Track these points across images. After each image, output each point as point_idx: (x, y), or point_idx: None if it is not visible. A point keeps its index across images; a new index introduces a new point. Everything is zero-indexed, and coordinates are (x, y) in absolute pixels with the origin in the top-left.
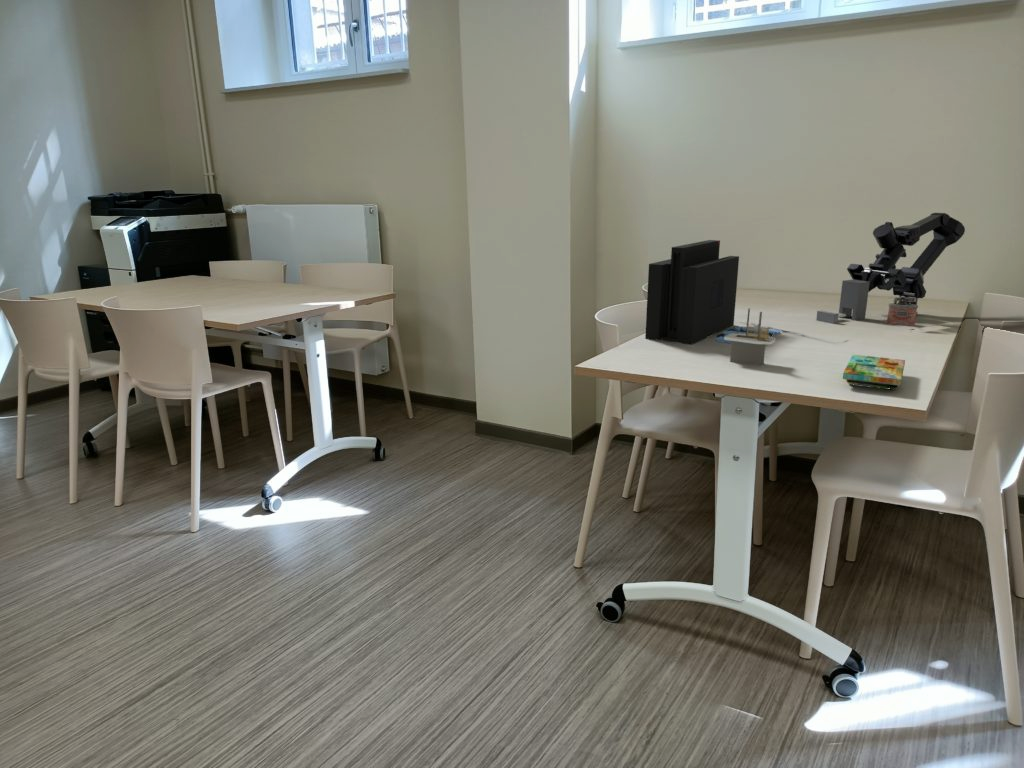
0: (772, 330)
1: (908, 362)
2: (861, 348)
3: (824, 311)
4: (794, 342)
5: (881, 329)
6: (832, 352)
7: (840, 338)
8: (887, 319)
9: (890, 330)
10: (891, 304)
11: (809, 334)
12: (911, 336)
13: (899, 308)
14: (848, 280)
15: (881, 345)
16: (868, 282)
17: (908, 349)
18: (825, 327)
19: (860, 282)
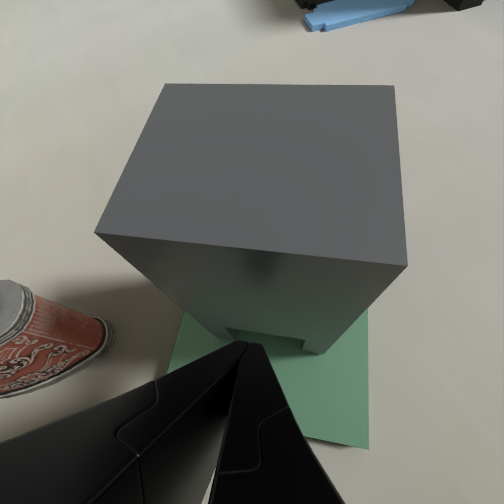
0: (330, 18)
1: (9, 35)
2: (102, 49)
3: None
4: (230, 4)
5: (116, 266)
6: (138, 4)
7: (174, 80)
8: (88, 322)
9: (83, 274)
10: (6, 281)
11: (253, 62)
12: (5, 233)
13: None
14: (359, 135)
15: (71, 90)
16: (108, 214)
17: (11, 100)
18: None
19: (169, 110)
